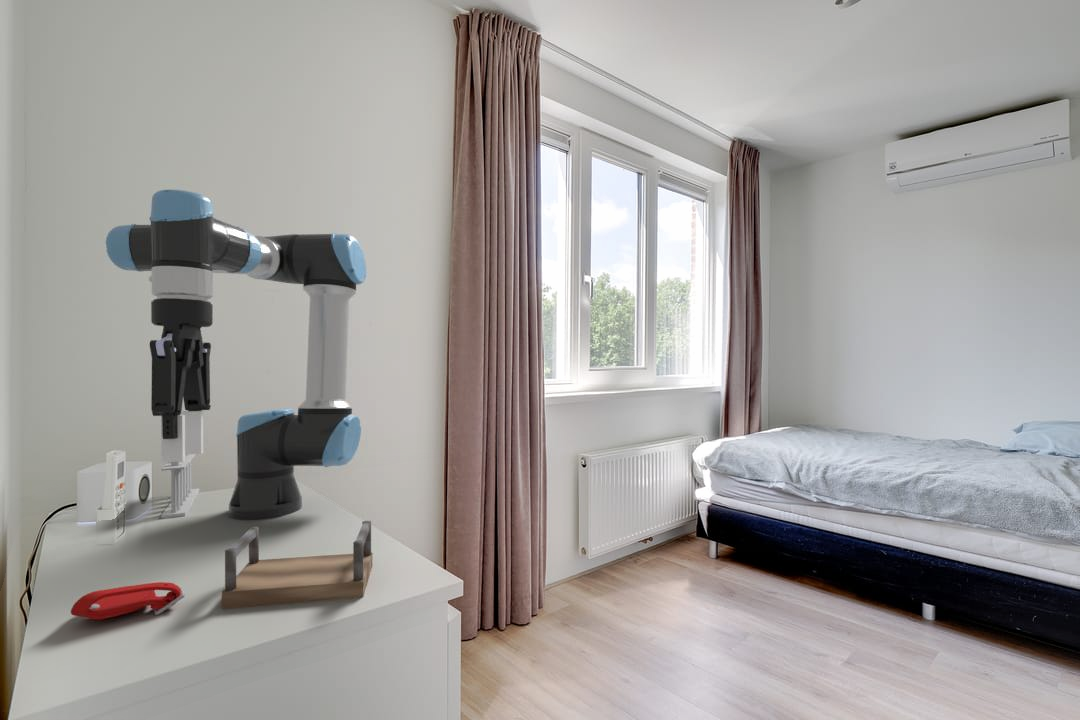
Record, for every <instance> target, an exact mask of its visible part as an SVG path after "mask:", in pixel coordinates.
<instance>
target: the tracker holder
mask: <svg viewBox="0 0 1080 720" xmlns="http://www.w3.org/2000/svg"><path fill="white" fill-rule="evenodd" d="M156 591H167V593H166V595H162V596H160V595H159V596H158V595H156ZM185 595H186V594H185V593H184V590H183V587H180V586H179V585H178V584H175V583H173V582H162V581H161V582H160V581H159V582H149V583H142V584H141V583H140V584H135V585H127V586H120V587H115V588H106V589H100V590H95V591H91V592H89V593H86V594H84V595H83V596H81V597H80V598H78V600H77V601H76V602H75V603H73V605H72V607H71V608H70V614H71V615H72V616H75V617H80V618H82V619H85V620H99V621H100V620H103V619H109V618H113V617H117V616H121V615H125V614H128V613H132V612H135V611H138V610H142V609H143V608H145V607H148V606H150V609H152V610H154V615H155V616H158V615H160V614H161V613H163V612H164V611H166V610H167V609H169V608H170V607H173V606H174V605H175V604H177V603H178V602H179V601H180V600H182V599H184V598H185Z"/></svg>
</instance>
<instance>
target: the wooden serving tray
mask: <svg viewBox="0 0 1080 720" xmlns="http://www.w3.org/2000/svg"><path fill="white" fill-rule="evenodd" d="M361 524H362V525H361V527H360V530H359V532H358V534H357V536H356V539H355V541H353V542H352V543H353V546H352V549H353V553H344V554H342V553H341V554H331V555H330V554H329V555H313V556H301V557H299V556H298V557H283V558H270V559H267V558H266V559H260V555H259V554H260V551H259V550H260V549H259V548H260V547H259V545H260V544H259V543H260V541H259V540H260V539H259V538H260V537H259V536H260V535H259V534H260V530H259V526H253V527H249V528H248V530H247V531H246V532H245V533H243V534H242V535H241V536H240V538H238V539H237V540H236V541H235V542H234V543H233V544H232V545H231V546H230V547H228V549H226V550H224V589H223V591H221V610H231V609H243V608H255V607H266V606H276V605H277V606H278V605H290V604H299V603H300V604H301V603H311V602H320V601H321V602H322V601H333V600H334V601H335V600H336V601H337V600H345V599H356V598H357V599H358V598H364V597H365V592H366V589H367V586H368V583H369V579H370V576H371V573H370V572H372V570H373V552H372V521H371V520H364V521H362V523H361ZM247 546H248V562H247V564H246V565H245V566H244V567H243V568H242V569H241V570H240V572H238V574H237V557H238V555H240V553H241V552H242V551H243V550H244V549H245V548H246V547H247Z"/></svg>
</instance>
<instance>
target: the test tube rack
mask: <svg viewBox="0 0 1080 720" xmlns="http://www.w3.org/2000/svg"><path fill="white" fill-rule="evenodd" d="M196 455H197V454H187V455H185V461H183V462H166V464H165V465H163V467H162V468H161V471H170V472H171V474H170V475H171V476H170V479H171V480H170V481H171V485H170V486H171V489H170V490H171V491H170V492H171V493H170V494H171V497H170V499H171V501H170V502H169V504H168V506H166V508H165V510H164V511H163V512H162V514H161V517H160V519H163V520H165V519H172V518H181V517H182V518H183V517H186V515H187V514H188V511H189V510H190V508H191V506H193V505H192V504H193V503H194V501H195V500H196V497H197V496H198V494H199V493H200V488H192V460H193V459H194V458H195V456H196Z"/></svg>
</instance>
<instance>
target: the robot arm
mask: <svg viewBox="0 0 1080 720" xmlns="http://www.w3.org/2000/svg"><path fill="white" fill-rule="evenodd" d="M212 204H213V203H212V202H211V200H210V199H209V198H208V197H207V196H206V195H204V194H200V193H197V192H193V191H187V190H182V189H161V190H158V191H156V192H155V193H154V194H153V195H152V198H151V211H150V217H149V218H148V220H149V221H150V224H136V223H132V224H125V225H118V226H115V227H113V228H112V229H111V230H110V231H109V232H108V234H107V236H106V238H105V248H106V253H107V256H108V258H109V260H110V261H111V263H112V264H113V265H115V266H116V267H118V268H119V269H121V270H125V271H134V272H135V271H136V272H151V275H150V276H149V277H148V281H149V282H150V283H151V294H152V295H153V296H155V297H156V298H154V299H152V301H151V304H150V305H151V307H150V310H151V312H150V316H151V318H150V320H151V324H153V325H154V326H157V327H163V329H162V333H161V335H160V336H161V339H158V340H157V339H153V340H149V341H150V342H149V350H150V355H151V356H150V357H151V396H150V397H151V400H150V401H151V406H150V407H151V412H152V416H153V417H160V418H161V419H160V422H161V423H160V424H161V425H160V428H161V435H160V440H161V444H160V445H161V447H160V448H161V451H160V452H161V457H160V458H161V463H168V462H183V461H185V455H187V454H196V455H202V454H204V411H210V410H211V407H212V406H211V404H210V403H211V372H210V371H211V366H210V361H211V359H210V358H211V357H210V356H211V355H210V354H211V350H212V349H211V348H212V343H211V342H203V341H204V340H203V336H202V332H201V331H202V330H201V328H209V327H211V326H212V325H213V321H214V319H213V318H214V317H213V314H214V313H213V304H212V302H211V301H209V300H211V299H212V298H213V297H214V285H213V284H214V280H213V278H214V277H213V274H231V275H232V274H233V275H235V274H236V275H247V276H248V278H249V277H250V278H252V279H254V280H265V281H271V282H278V283H282V284H283V283H284V284H295V285H303V287H302V289H303V291H305V294H307V295H308V296H309V312H308V313H309V315H308V316H309V317H308V335H307V336H308V337H307V339H308V341H307V361H306V362H307V363H306V364H307V365H306V382H305V383H306V386H305V388H306V389H305V400H304V401H303V402H302V403H300V405H299V406H298V407H297V414H295V411H294V409H293V408H291V407H290V408H281V409H274V410H272V409H271V410H266V411H260V412H252V413H247V414H243V415H242V416H241V417H239V419H238V422H237V428H236V435H235V436H236V447H237V448H236V452H237V457H236V458H237V461H236V464H237V468H236V469H237V480H236V484H235V486H234V489H233V491H232V494H231V498H230V500H229V504H228V516H229V517H230V518H232V519H235V520H243V521H244V520H247V521H249V520H251V521H253V520H254V521H255V520H266V519H272V518H278V517H279V518H280V517H283V516H286V515H291V514H293V513H296V512H297V511H300V510H301V509H302V507H303V496H302V493H301V490H300V488H299V486H298V483H297V480H296V478H295V474H294V471H295V470H294V469H295V467H296V466H297V467H305V466H306V467H325V468H330V467H340V466H341V467H342V466H345V465H347V464H348V463H350V461H351V460H352V459H354V456H355V454H356V452H357V450H358V448H359V444H360V440H361V435H362V434H361V433H362V425H361V420H360V418H359V417H358V416H357V415H356V414H353V407H352V405H351V404H350V403H349V402H348V401H347V400H346V399H347V397H346V395H347V371H348V370H347V368H348V365H347V363H348V338H349V337H348V335H349V314H350V313H349V312H350V311H349V309H350V299H351V298H352V297H354V296H355V295H356V294H357V286H358V285H361V284H363V283H364V282H365V280H366V278H367V265H366V259H365V255H364V252H363V249H362V246H361V245H360V243H359V241H358V240H357V239H356V238H355V237H354V236H352V235H350V234H346V233H344V234H343V233H342V234H341V233H335V232H333V233H318V234H317V233H313V234H311V233H310V234H306V233H305V234H297V233H294V234H292V233H291V234H282V235H281V234H280V235H271V236H262V235H254V234H252V233H251V232H249V231H246V230H245V229H244V228H242V227H241V226H235V225H233V224H229V223H227V222H224V221H222V220H219V219H217V218H215V217H213V216H214V211H213V205H212ZM183 403H184V404H183ZM183 405H184V409H185V411H184V410H183V411H182V408H183Z"/></svg>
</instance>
